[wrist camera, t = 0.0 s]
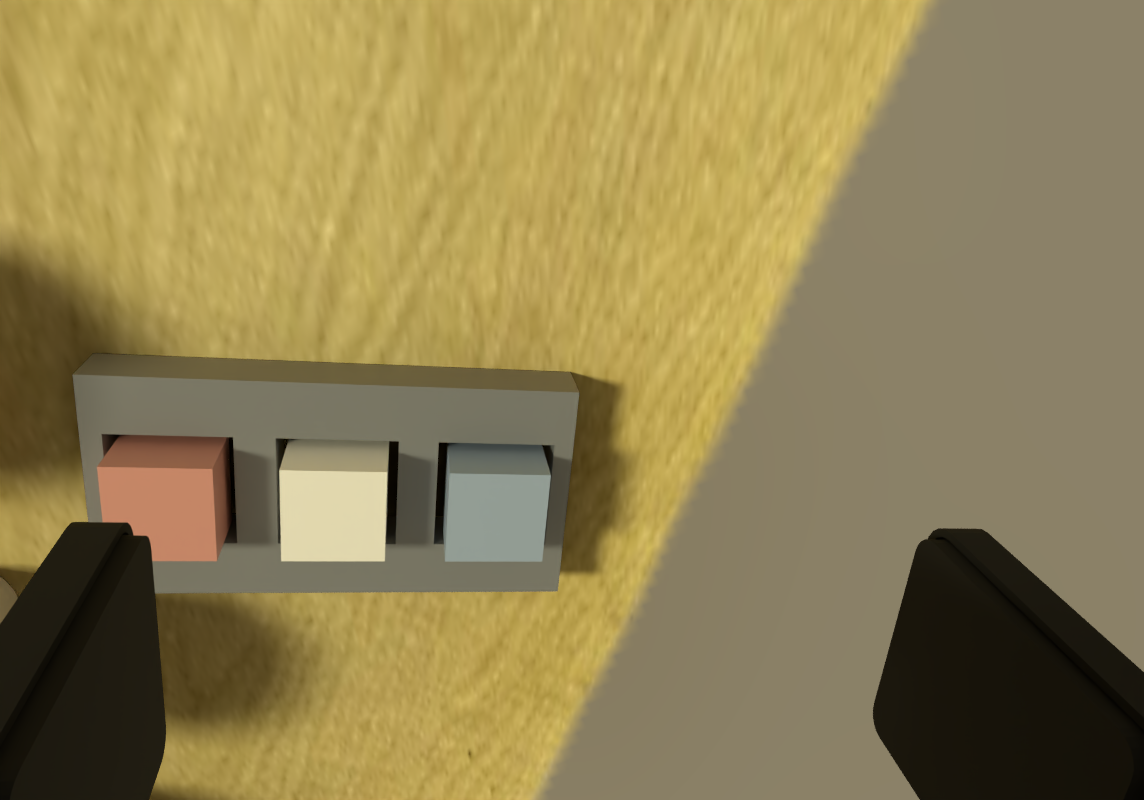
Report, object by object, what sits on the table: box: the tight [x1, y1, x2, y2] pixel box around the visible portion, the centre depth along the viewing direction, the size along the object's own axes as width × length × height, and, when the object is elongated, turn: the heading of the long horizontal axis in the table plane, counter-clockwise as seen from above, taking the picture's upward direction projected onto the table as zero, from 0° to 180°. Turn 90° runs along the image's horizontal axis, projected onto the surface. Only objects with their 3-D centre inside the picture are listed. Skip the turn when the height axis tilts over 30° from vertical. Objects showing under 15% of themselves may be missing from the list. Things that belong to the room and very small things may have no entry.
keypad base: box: [73, 353, 579, 593], centre depth 48 cm, size 12×24×3 cm, turn 84°
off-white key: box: [279, 439, 389, 561], centre depth 46 cm, size 5×5×4 cm
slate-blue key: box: [443, 443, 551, 562], centre depth 48 cm, size 5×5×4 cm
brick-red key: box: [97, 435, 232, 561], centre depth 45 cm, size 5×5×4 cm
